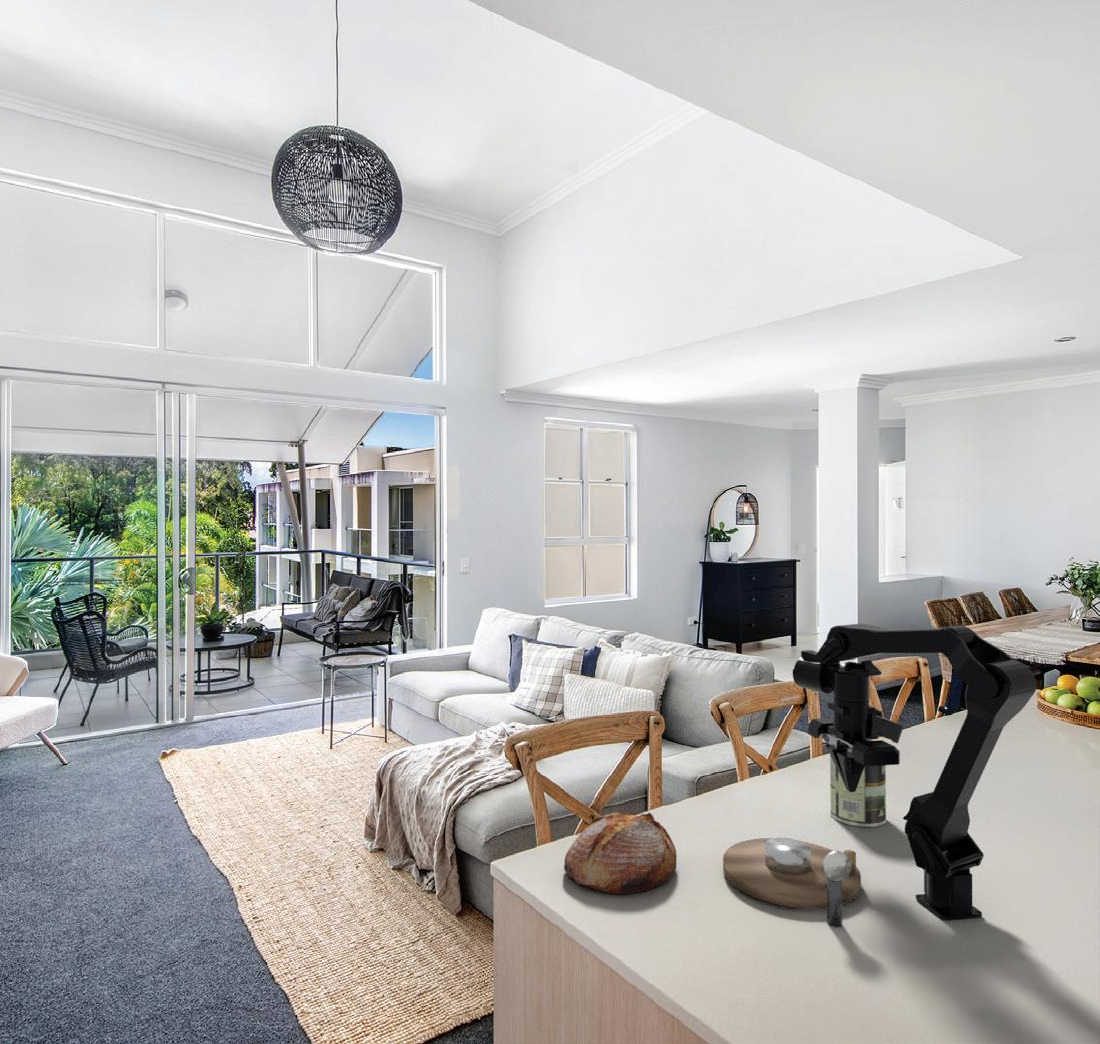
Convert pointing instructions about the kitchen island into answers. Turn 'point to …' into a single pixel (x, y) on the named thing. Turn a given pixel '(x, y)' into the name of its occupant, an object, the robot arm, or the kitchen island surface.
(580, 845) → the bread
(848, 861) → the ice cream scoop
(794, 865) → the cover
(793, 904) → the disc
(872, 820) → the coffee can
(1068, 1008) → the kitchen island surface
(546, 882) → the kitchen island surface
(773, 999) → the kitchen island surface
